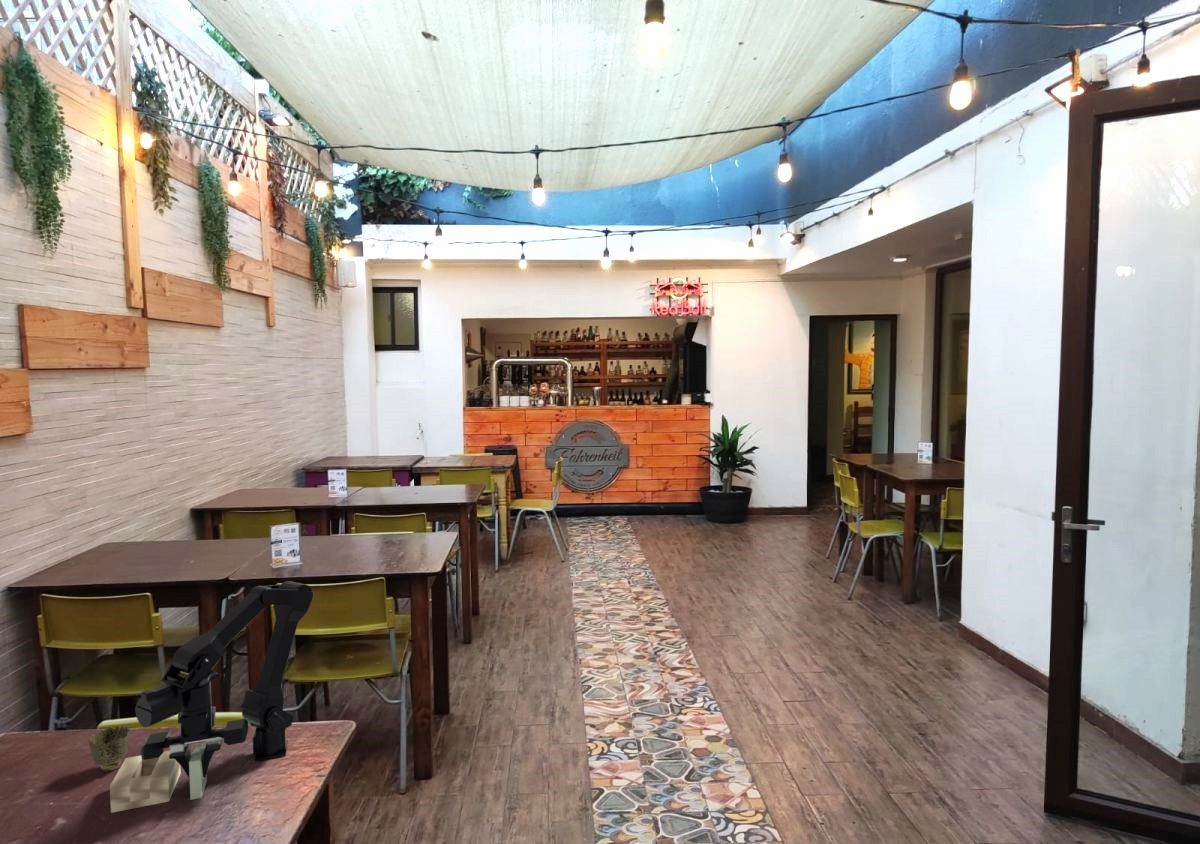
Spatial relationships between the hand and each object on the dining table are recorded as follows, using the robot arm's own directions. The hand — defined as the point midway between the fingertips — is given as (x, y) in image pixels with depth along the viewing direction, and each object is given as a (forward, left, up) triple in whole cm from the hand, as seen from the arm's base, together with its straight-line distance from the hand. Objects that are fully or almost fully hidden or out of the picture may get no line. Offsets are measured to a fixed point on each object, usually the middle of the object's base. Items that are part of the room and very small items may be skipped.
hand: (198, 777), depth 141 cm
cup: (+20, -17, -3) cm, 26 cm away
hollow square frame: (+10, -3, -3) cm, 11 cm away
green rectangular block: (0, 0, -3) cm, 3 cm away
